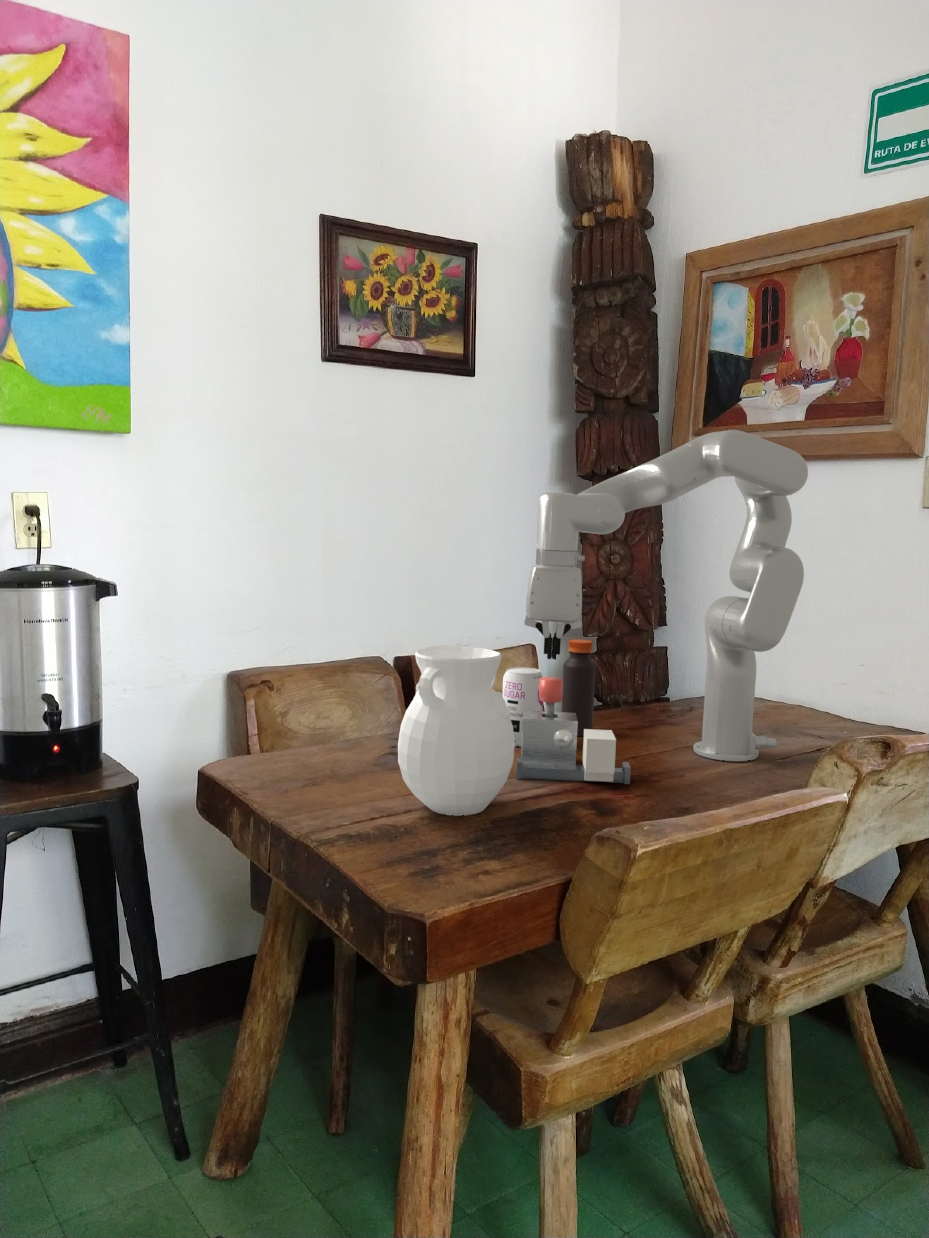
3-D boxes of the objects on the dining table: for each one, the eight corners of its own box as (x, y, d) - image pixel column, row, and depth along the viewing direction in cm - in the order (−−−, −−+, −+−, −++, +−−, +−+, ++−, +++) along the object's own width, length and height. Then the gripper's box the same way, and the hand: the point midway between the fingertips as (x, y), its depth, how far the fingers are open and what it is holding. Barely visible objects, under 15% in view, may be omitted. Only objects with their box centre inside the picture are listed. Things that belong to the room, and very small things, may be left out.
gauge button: (560, 718, 176) (562, 677, 175) (561, 724, 171) (563, 681, 170) (537, 717, 176) (539, 676, 175) (538, 723, 171) (539, 680, 170)
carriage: (609, 772, 167) (611, 730, 166) (613, 783, 160) (616, 739, 160) (582, 770, 168) (584, 728, 167) (585, 782, 161) (587, 738, 160)
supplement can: (540, 738, 192) (543, 667, 190) (540, 748, 184) (543, 674, 182) (502, 736, 193) (504, 665, 191) (499, 746, 185) (502, 673, 183)
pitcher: (448, 781, 160) (452, 639, 157) (534, 805, 149) (541, 652, 146) (371, 806, 146) (374, 650, 143) (461, 835, 135) (466, 666, 131)
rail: (627, 778, 166) (628, 761, 165) (629, 784, 162) (630, 767, 162) (516, 773, 167) (516, 757, 166) (516, 778, 163) (516, 762, 163)
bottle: (554, 730, 200) (558, 639, 197) (581, 728, 202) (586, 638, 200) (570, 737, 193) (574, 643, 191) (598, 735, 196) (602, 642, 194)
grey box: (573, 758, 178) (575, 712, 177) (575, 769, 170) (577, 721, 169) (521, 756, 178) (523, 710, 177) (521, 766, 171) (523, 719, 170)
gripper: (595, 560, 173) (590, 656, 175) (515, 557, 174) (511, 653, 176) (598, 562, 166) (593, 663, 168) (515, 559, 166) (511, 659, 169)
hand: (551, 658), depth 172 cm, fingers closed
